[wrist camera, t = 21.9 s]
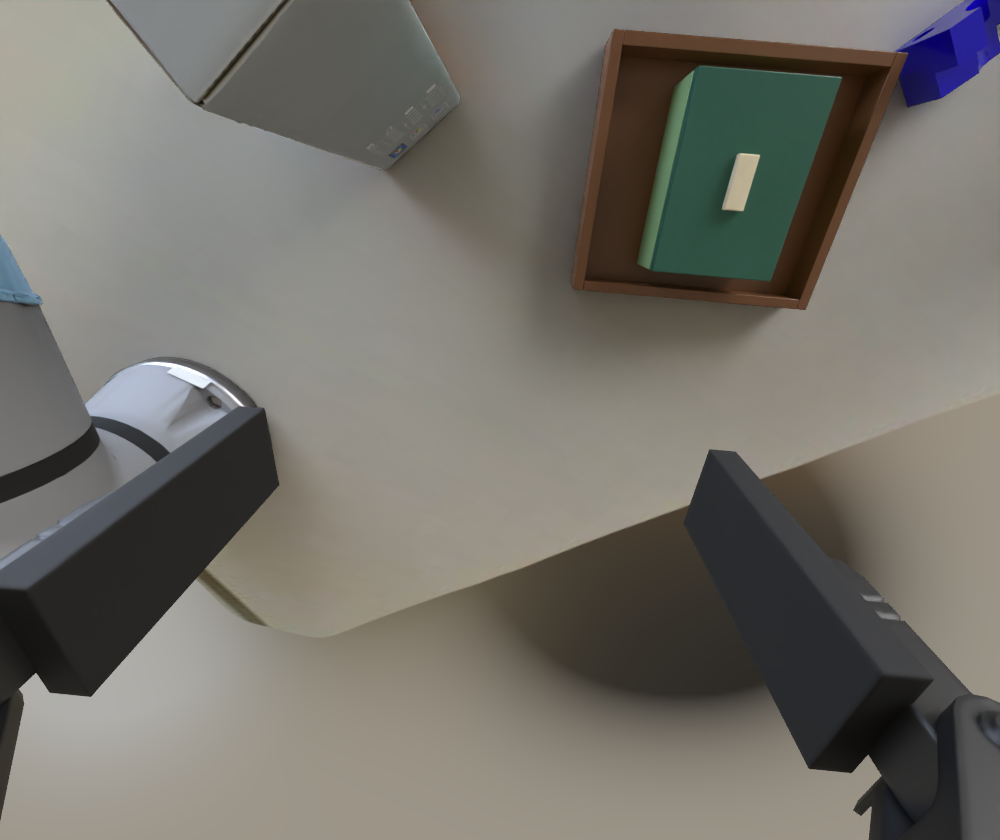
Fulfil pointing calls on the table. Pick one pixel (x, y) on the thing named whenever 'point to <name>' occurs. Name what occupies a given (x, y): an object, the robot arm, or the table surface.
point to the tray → (637, 143)
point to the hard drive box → (303, 68)
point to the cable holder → (950, 51)
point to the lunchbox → (733, 170)
